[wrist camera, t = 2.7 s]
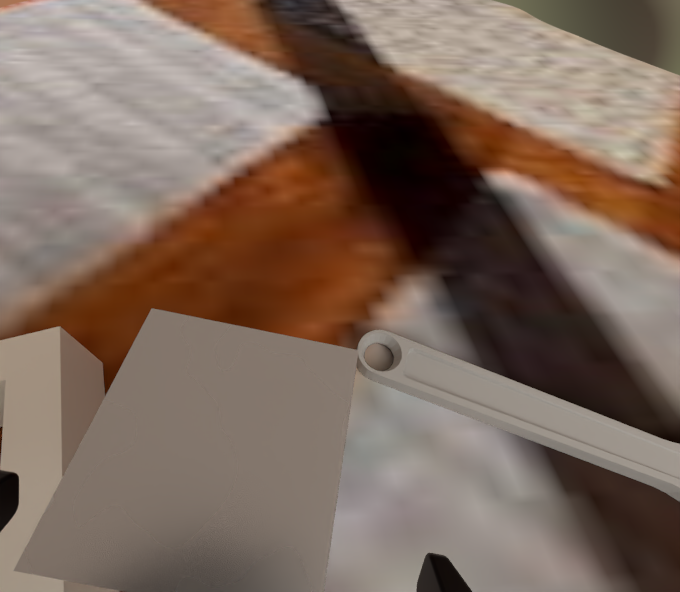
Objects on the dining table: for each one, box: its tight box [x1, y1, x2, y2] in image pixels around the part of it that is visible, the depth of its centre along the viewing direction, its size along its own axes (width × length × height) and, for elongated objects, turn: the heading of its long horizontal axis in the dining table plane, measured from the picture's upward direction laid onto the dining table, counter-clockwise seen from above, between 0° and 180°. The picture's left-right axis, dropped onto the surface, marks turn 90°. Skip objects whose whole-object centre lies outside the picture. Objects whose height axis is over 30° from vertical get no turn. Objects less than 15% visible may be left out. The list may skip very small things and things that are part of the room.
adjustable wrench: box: [356, 330, 680, 502], centre depth 19 cm, size 25×6×2 cm, turn 66°
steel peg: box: [13, 308, 359, 592], centre depth 11 cm, size 4×4×12 cm
